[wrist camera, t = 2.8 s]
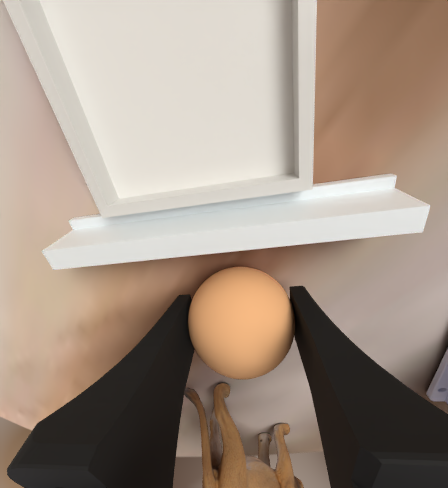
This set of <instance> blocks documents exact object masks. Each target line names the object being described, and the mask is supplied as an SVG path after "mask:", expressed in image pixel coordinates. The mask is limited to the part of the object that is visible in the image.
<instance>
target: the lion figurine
mask: <svg viewBox="0 0 448 488" xmlns="http://www.w3.org/2000/svg"><path fill="white" fill-rule="evenodd" d="M229 394H230V386H229V385H228V384H225V383H221V384H219V385H217V386H216V387H215V389H214V393H213V397H214V409H213V411H212V416H211V418H210V431H211V434H210V439H209V432H208V425H207V420H206V415H205V410H204V407H203V405H202V402H201V401H200V398H199V396H198V394H197V393H196V392H195V391H194V389H190V388H185V391H184V395H185V396H186V397H187V398H188V399H189V400H190V401H191V402H193V403H194V405H195V406H196V408H197V410H198V413H199V417H200V427H201V439H202V464H203V488H304V487H303V484H302V482H301V481H300V480H299V479H298V478H296V477H295V476H294V475H293V469H292V464H291V460H290V456H289V453H288V450H287V447H286V444H285V440H284V435H287V434H288V433H289V432H290V428H289V425H288V424H285V423H280V424H277V425H275V426H274V439H275V443H276V448H277V456H278V460H277V465H276V469H275V470H274V469H272V468H270V460H269V444H270V442H271V435H269V434H268V433H261V434H259V436H258V458H256V457H254V456H245V453H244V449H243V445H242V441H241V438H240V434H239V432H238V430H237V428H236V425H235V424H234V422H233V420H232V418H231V416H230V414H229V412H228V410H227V408H226V405H225V402H224V398H226V397H228V396H229ZM219 426H220V430H221V435H222V441H223V453H222V446H221V442H220V437H219Z"/></svg>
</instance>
